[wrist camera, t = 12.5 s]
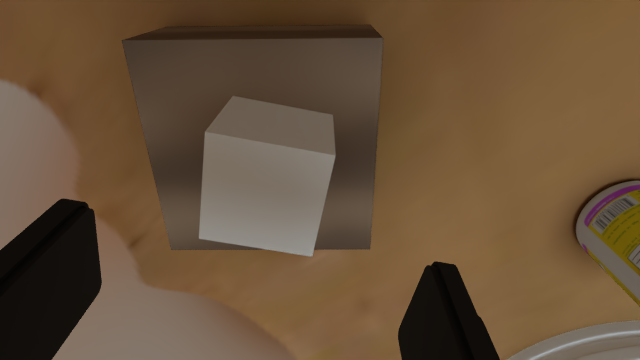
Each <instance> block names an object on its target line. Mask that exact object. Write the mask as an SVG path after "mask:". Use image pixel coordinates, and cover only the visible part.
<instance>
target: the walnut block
mask: <svg viewBox="0 0 640 360" xmlns="http://www.w3.org/2000/svg"><path fill="white" fill-rule="evenodd" d="M122 44H123V48H124V52H125V56H126V60H127V65H128V69H129V73H130V77H131V82H132V86H133V90H134V94H135V99H136V103H137V107H138V111H139V115H140V120H141V124H142V128H143V132H144V137H145V141H146V145H147V149H148V154H149V158H150V162H151V166H152V170H153V175H154V179H155V183H156V187H157V192H158V196H159V200H160V204H161V209H162V213H163V217H164V221H165V225H166V230H167V234H168V238H169V242H170V247H171V250H267V249H261V248H255V247H248V246H242V245H236V244H229V243H223V242H217V241H211V240H204V239H199V226H200V208H201V191H202V173H203V156H204V138H205V131H206V130H207V128H208V127H209V126H210V125H211V123H212V122H213V121H214V119H215V118H216V117H217V116H218V114H219V113H220V112H221V110H222V109H223V108H224V107H225V105H226V104H227V103H228V101H229V100H230V99H231V98H232V96H237V97H242V98H247V99H253V100H258V101H263V102H268V103H274V104H279V105H284V106H289V107H295V108H300V109H305V110H310V111H316V112H321V113H326V114H331V115H333V123H334V138H335V153H336V156H335V161H334V165H333V169H332V173H331V178H330V182H329V186H328V191H327V195H326V199H325V204H324V208H323V212H322V216H321V221H320V225H319V229H318V234H317V238H316V242H315V247H314V249H370V243H371V227H372V211H373V195H374V179H375V163H376V148H377V132H378V116H379V100H380V84H381V69H382V53H383V37H382V36H381V35H380V34H379V33H378V32H377V31H376V30H375V29H374V28H373V27H372V26H371V25H301V26H197V27H164V28H161V29H158V30H154V31H151V32H148V33H144V34H141V35H138V36H135V37H131V38H128V39H125V40H122Z"/></svg>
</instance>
